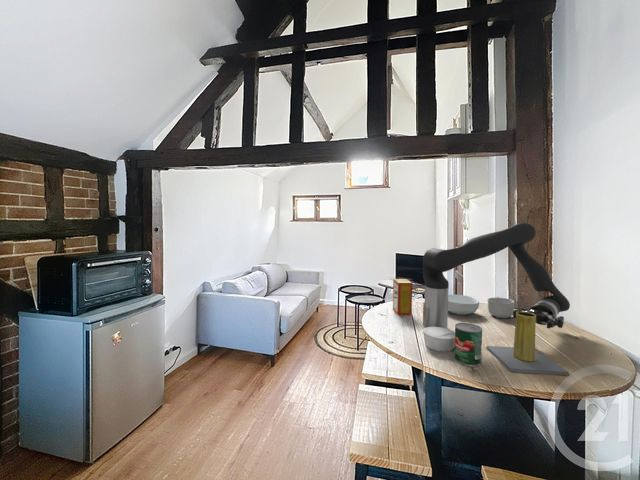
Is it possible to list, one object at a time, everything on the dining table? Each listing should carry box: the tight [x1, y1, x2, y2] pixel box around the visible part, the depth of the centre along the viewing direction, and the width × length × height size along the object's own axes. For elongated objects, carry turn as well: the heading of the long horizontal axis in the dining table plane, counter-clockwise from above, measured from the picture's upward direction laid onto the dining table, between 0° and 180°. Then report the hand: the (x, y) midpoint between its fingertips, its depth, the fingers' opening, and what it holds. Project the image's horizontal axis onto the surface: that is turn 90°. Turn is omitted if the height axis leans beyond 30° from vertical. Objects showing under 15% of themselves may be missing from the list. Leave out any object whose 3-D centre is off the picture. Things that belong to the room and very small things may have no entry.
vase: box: [513, 312, 537, 362], centre depth 94 cm, size 6×6×14 cm
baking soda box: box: [392, 278, 413, 316], centre depth 144 cm, size 10×6×16 cm
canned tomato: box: [453, 322, 484, 367], centre depth 94 cm, size 8×8×11 cm
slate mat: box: [486, 345, 570, 376], centre depth 94 cm, size 16×16×1 cm
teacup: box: [486, 296, 515, 319], centre depth 140 cm, size 14×11×8 cm
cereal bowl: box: [448, 293, 480, 316], centre depth 144 cm, size 17×17×7 cm
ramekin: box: [422, 327, 455, 352], centre depth 105 cm, size 11×11×5 cm
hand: (532, 322), depth 100 cm, fingers open, 8 cm apart
